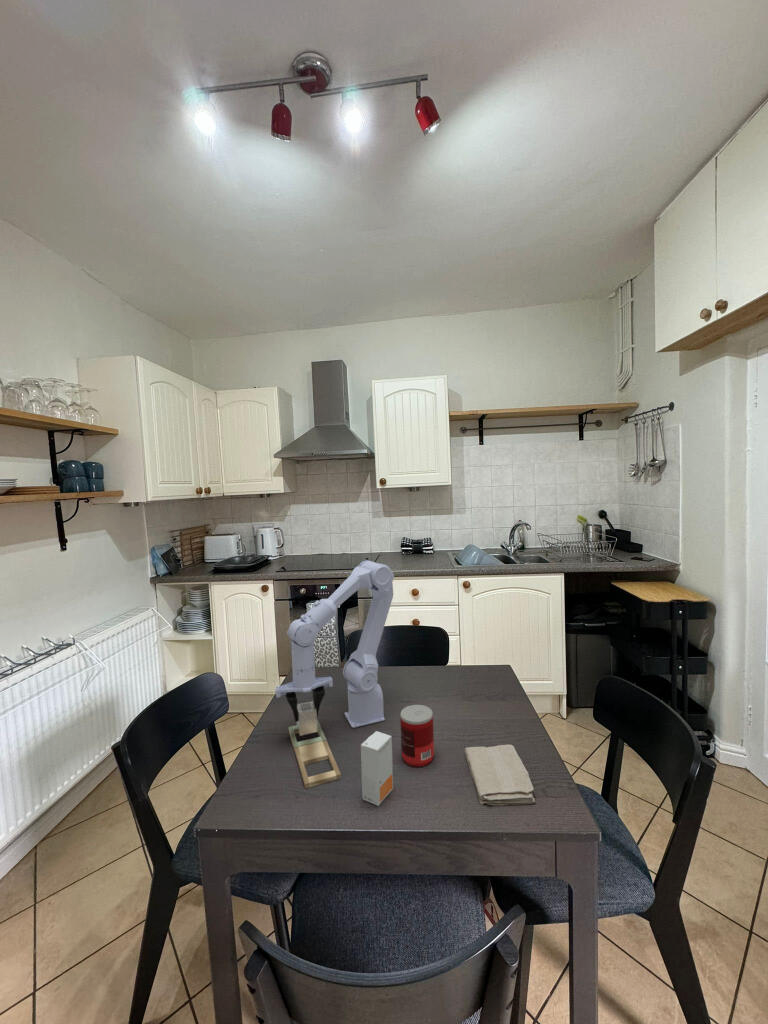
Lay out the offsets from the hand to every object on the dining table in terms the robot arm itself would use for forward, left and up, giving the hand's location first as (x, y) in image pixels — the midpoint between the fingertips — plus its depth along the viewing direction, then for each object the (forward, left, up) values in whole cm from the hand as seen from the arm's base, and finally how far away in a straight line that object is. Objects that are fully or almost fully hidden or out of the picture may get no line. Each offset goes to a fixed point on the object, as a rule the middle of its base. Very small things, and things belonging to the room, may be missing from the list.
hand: (306, 717), depth 114 cm
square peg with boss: (0, +1, -3) cm, 3 cm away
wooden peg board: (0, +7, -6) cm, 9 cm away
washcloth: (-36, +32, -6) cm, 49 cm away
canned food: (-23, +19, -6) cm, 30 cm away
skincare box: (-10, +27, -6) cm, 29 cm away
